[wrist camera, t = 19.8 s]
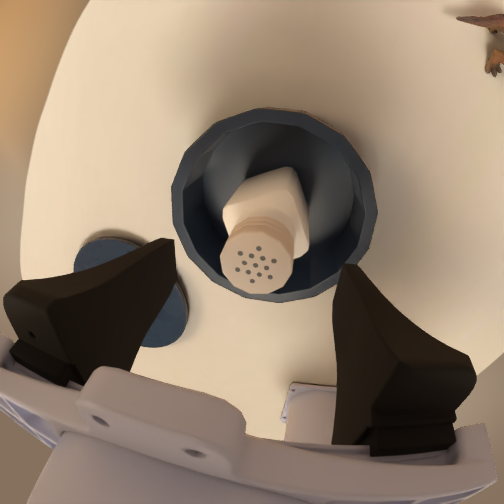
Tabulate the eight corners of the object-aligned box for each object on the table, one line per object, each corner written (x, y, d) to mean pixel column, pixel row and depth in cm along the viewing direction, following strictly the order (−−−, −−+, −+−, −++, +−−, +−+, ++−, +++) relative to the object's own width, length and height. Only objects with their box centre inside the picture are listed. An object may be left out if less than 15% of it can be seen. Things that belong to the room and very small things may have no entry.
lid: (194, 352, 31) (181, 383, 27) (95, 325, 33) (76, 349, 29) (185, 243, 25) (163, 272, 21) (67, 227, 26) (39, 248, 22)
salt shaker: (294, 162, 20) (285, 210, 11) (311, 213, 21) (312, 292, 13) (240, 179, 21) (196, 236, 13) (259, 227, 22) (231, 308, 14)
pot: (344, 278, 24) (349, 312, 20) (196, 257, 25) (177, 286, 21) (375, 123, 18) (393, 129, 14) (196, 104, 19) (170, 106, 15)
